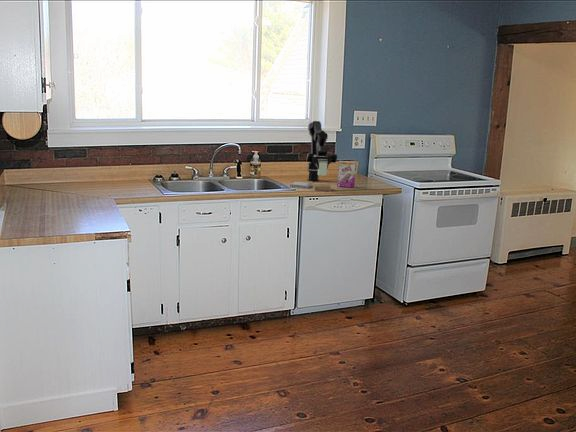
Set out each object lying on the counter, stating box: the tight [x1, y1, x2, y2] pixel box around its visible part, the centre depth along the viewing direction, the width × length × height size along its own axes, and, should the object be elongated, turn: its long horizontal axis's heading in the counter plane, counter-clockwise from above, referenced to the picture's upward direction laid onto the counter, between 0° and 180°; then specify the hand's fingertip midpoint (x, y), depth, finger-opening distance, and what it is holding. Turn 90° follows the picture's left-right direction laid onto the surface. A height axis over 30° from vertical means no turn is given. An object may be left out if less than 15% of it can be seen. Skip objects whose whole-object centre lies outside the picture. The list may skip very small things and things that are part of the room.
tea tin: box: [318, 160, 328, 177], centre depth 363 cm, size 4×5×9 cm
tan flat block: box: [312, 183, 332, 192], centre depth 365 cm, size 8×10×3 cm
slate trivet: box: [289, 181, 315, 189], centre depth 374 cm, size 12×12×2 cm
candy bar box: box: [336, 160, 357, 188], centre depth 378 cm, size 11×5×16 cm, turn 84°
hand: (322, 168), depth 362 cm, fingers closed on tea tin, 5 cm apart
